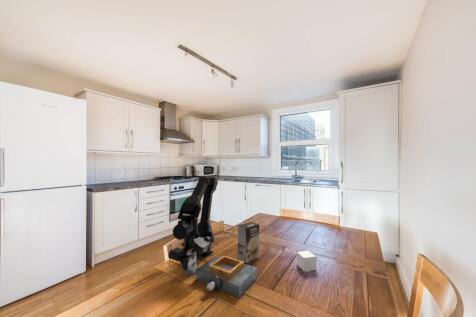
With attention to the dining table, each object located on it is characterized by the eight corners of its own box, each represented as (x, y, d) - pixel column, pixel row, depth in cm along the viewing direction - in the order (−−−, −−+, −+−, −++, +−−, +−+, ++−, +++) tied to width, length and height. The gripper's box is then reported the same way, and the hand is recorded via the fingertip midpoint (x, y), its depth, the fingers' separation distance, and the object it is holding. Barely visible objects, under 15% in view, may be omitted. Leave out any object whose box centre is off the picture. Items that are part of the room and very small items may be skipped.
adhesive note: (316, 270, 86) (316, 256, 86) (303, 272, 84) (304, 258, 85) (308, 263, 92) (308, 250, 92) (296, 265, 90) (296, 251, 90)
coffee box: (246, 263, 91) (247, 228, 91) (237, 258, 96) (237, 225, 96) (259, 257, 97) (259, 224, 98) (249, 252, 102) (250, 221, 102)
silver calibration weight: (190, 267, 87) (190, 247, 87) (200, 271, 84) (200, 250, 84) (181, 272, 83) (181, 251, 83) (191, 276, 80) (192, 254, 80)
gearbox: (217, 264, 90) (217, 250, 90) (257, 278, 80) (257, 262, 80) (188, 285, 75) (188, 268, 75) (232, 305, 64) (232, 286, 64)
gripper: (188, 242, 72) (187, 285, 72) (219, 228, 88) (218, 263, 88) (167, 236, 78) (167, 276, 78) (200, 223, 94) (199, 257, 93)
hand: (190, 267), depth 84 cm, fingers open, 5 cm apart
